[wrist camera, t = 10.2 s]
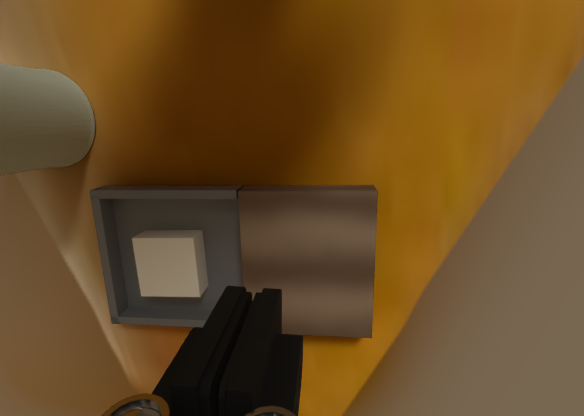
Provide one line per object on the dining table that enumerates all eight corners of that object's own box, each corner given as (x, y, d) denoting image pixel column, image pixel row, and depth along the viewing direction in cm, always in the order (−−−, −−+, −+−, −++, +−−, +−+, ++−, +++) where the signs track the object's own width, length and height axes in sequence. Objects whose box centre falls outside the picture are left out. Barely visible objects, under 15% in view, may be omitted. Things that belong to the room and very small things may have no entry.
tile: (193, 237, 31) (202, 230, 34) (131, 238, 32) (144, 230, 34) (200, 297, 33) (208, 285, 35) (141, 296, 34) (153, 284, 36)
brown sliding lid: (246, 185, 33) (237, 191, 30) (373, 185, 32) (377, 191, 29) (252, 315, 36) (246, 332, 33) (368, 320, 35) (371, 337, 32)
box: (106, 185, 34) (89, 190, 32) (242, 185, 33) (236, 190, 30) (125, 310, 38) (111, 323, 35) (250, 315, 36) (244, 329, 34)
